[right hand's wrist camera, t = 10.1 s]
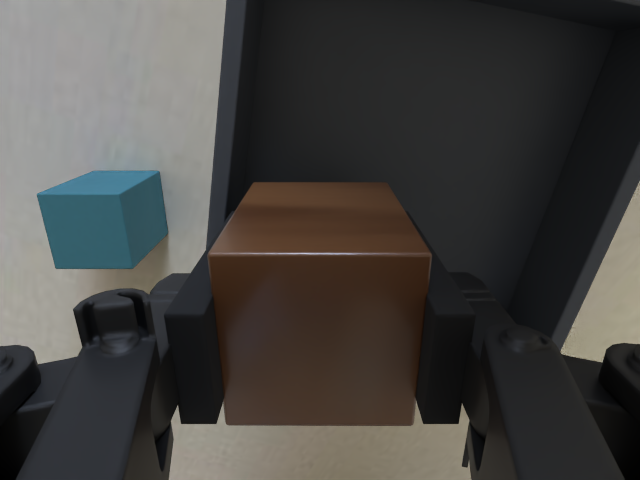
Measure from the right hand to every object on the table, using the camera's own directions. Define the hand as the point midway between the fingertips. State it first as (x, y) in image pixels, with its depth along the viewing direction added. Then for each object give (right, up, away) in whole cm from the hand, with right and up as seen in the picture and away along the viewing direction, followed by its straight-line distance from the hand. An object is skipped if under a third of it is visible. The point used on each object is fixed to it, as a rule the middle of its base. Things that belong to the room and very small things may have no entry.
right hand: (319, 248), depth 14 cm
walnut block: (0, 0, 0) cm, 0 cm away
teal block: (-13, +3, +14) cm, 20 cm away
